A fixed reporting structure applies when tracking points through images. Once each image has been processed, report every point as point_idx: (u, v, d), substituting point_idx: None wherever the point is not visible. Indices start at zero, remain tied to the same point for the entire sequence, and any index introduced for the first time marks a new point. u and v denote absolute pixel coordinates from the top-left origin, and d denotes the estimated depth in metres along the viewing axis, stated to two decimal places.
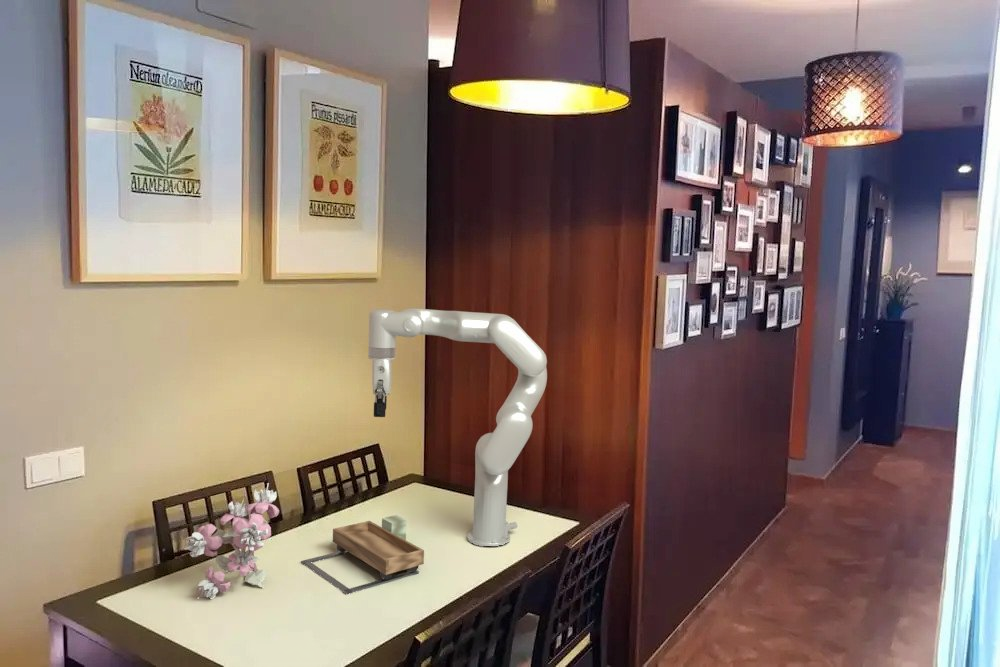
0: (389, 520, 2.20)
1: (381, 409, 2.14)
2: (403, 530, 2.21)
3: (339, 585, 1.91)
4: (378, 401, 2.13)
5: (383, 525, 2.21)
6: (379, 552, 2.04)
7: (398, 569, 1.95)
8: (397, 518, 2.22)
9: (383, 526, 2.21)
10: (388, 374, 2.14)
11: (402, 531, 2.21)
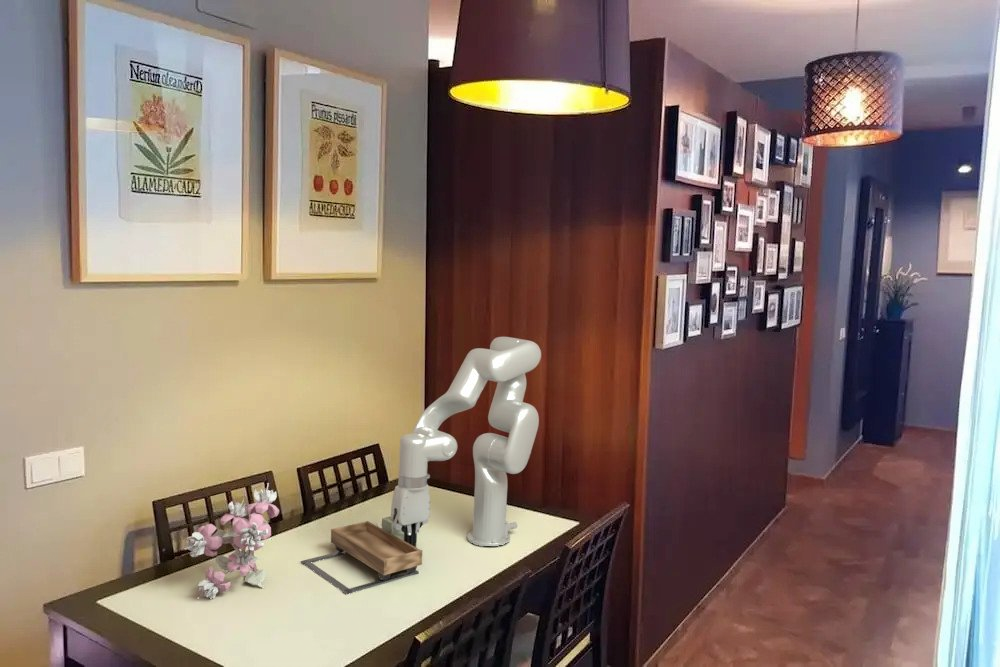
0: (389, 520, 2.20)
1: None
2: None
3: (339, 585, 1.91)
4: None
5: (383, 525, 2.21)
6: (377, 552, 2.03)
7: (397, 570, 1.95)
8: None
9: (383, 526, 2.21)
10: None
11: None
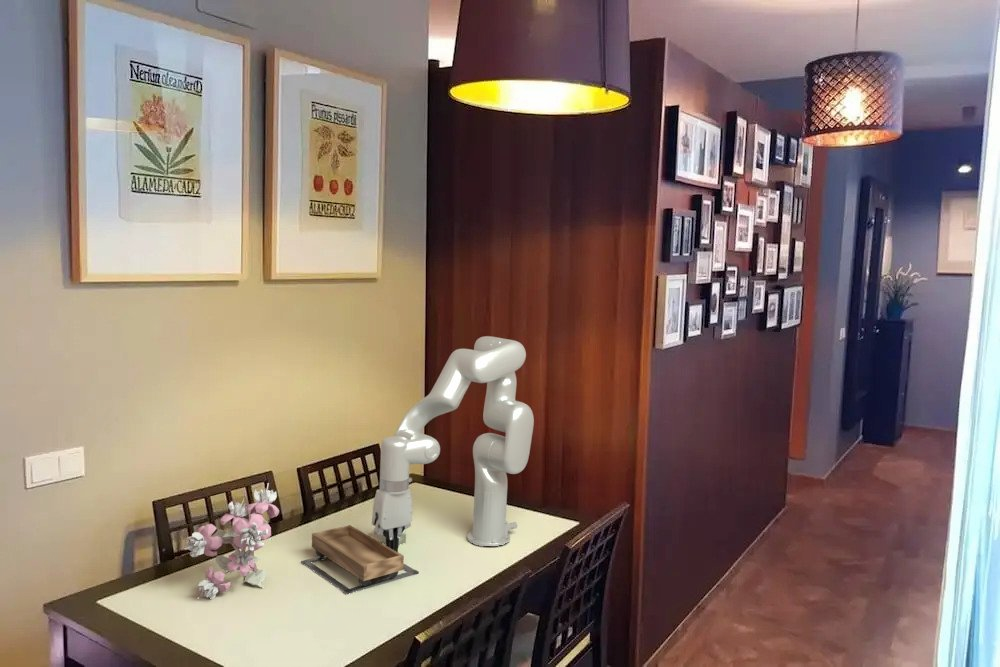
0: None
1: None
2: None
3: (339, 585, 1.91)
4: None
5: None
6: (358, 557, 1.99)
7: (377, 575, 1.91)
8: None
9: None
10: None
11: None
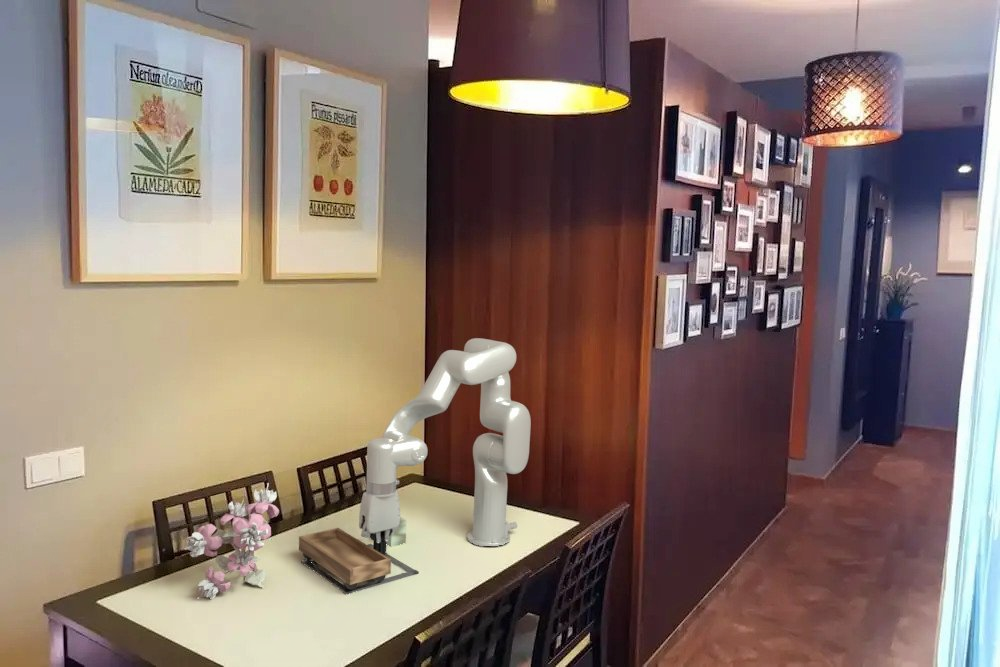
0: None
1: None
2: (403, 530, 2.21)
3: (339, 585, 1.91)
4: None
5: None
6: (345, 561, 1.97)
7: (364, 579, 1.89)
8: None
9: None
10: None
11: (402, 531, 2.21)
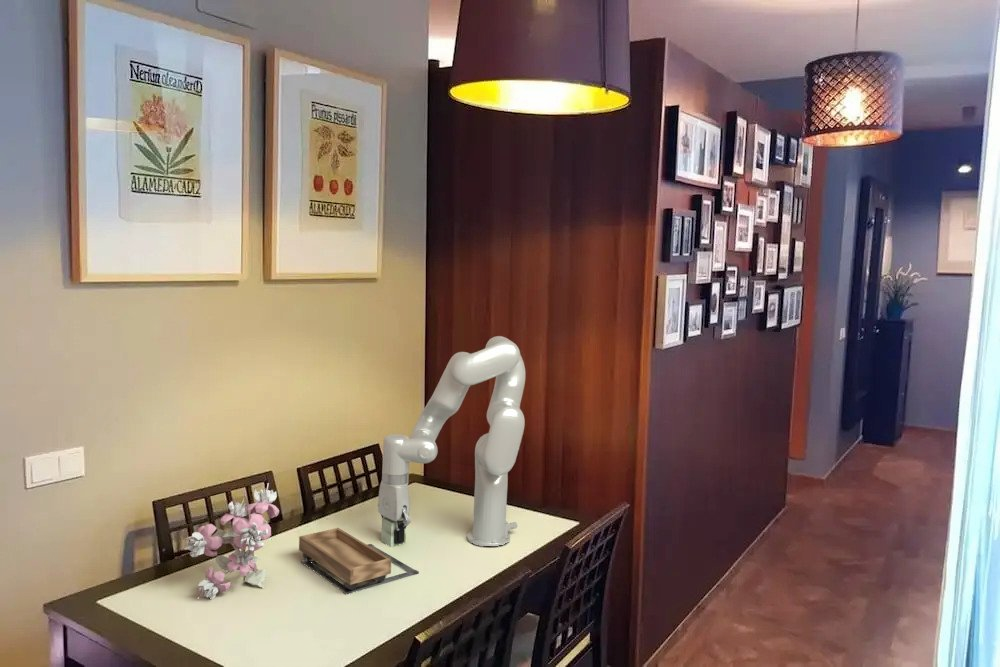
0: (389, 520, 2.20)
1: None
2: None
3: (339, 585, 1.91)
4: None
5: (383, 525, 2.21)
6: (345, 561, 1.97)
7: (364, 579, 1.89)
8: None
9: (383, 526, 2.21)
10: None
11: None
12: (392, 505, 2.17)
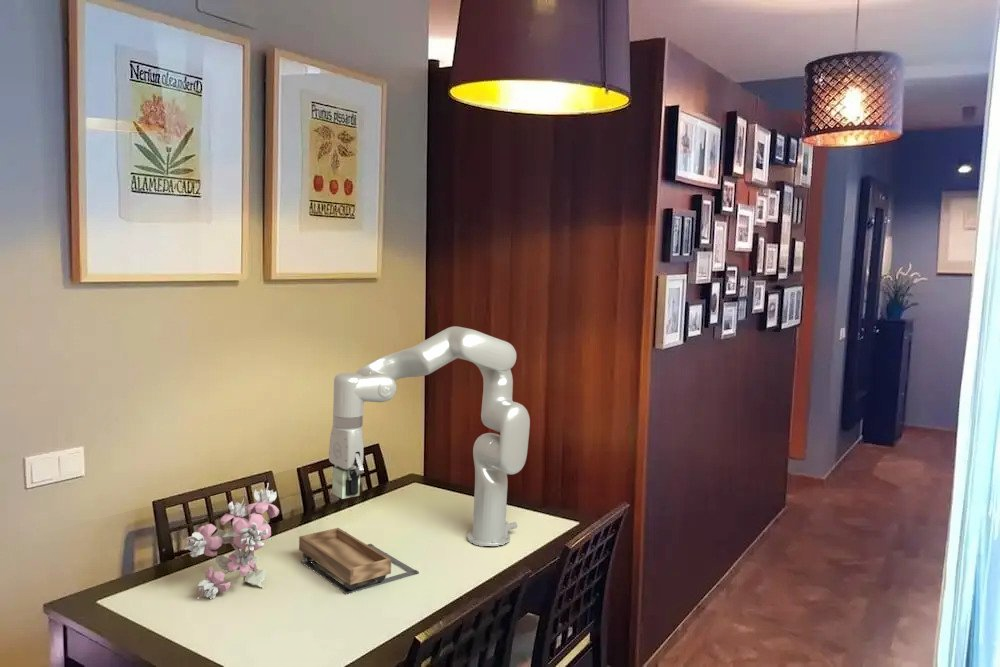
0: (341, 469, 1.96)
1: None
2: None
3: (339, 585, 1.91)
4: None
5: (334, 475, 1.97)
6: (345, 561, 1.97)
7: (364, 579, 1.89)
8: None
9: (334, 476, 1.97)
10: None
11: None
12: (343, 451, 1.93)
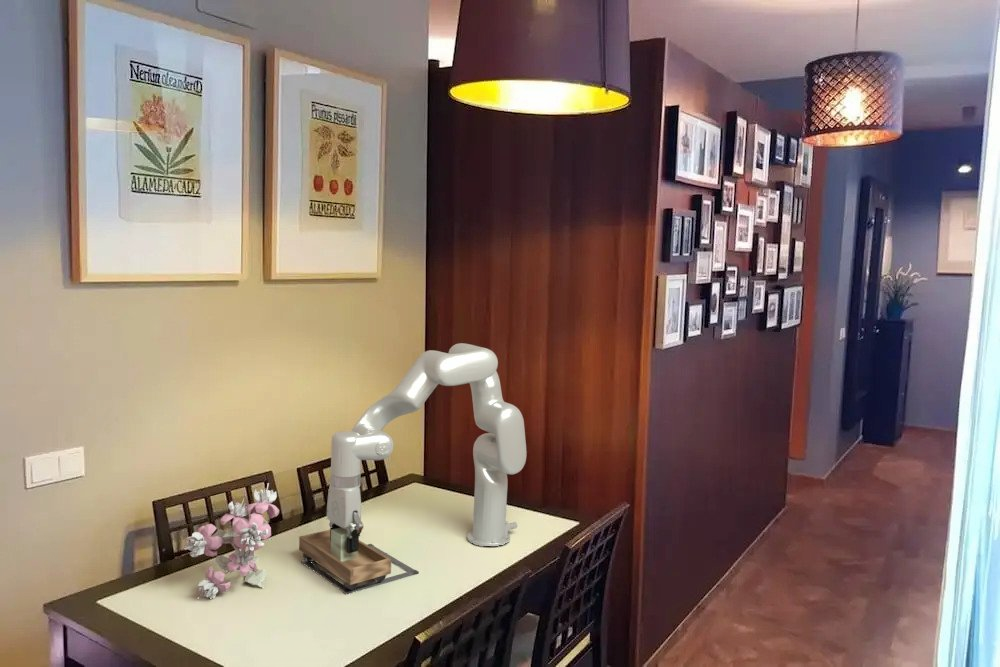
0: (339, 532, 1.98)
1: None
2: None
3: (339, 585, 1.91)
4: None
5: (332, 537, 1.99)
6: (345, 561, 1.97)
7: (364, 579, 1.89)
8: None
9: (332, 539, 1.99)
10: None
11: None
12: (341, 510, 1.94)
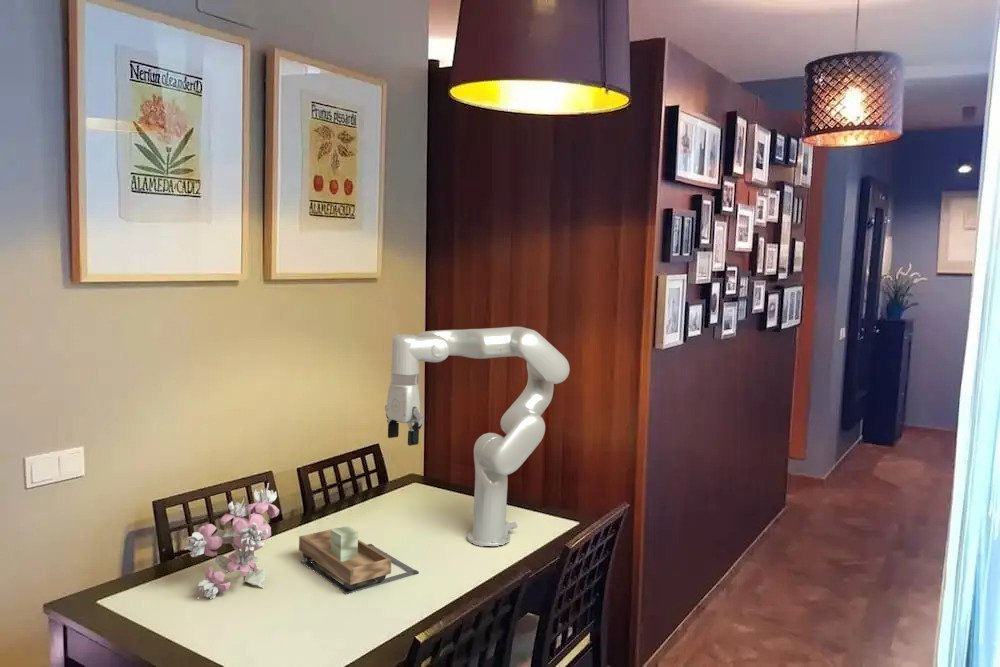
0: (339, 532, 1.98)
1: None
2: (354, 543, 1.99)
3: (339, 585, 1.91)
4: None
5: (332, 537, 1.99)
6: (345, 561, 1.97)
7: (364, 579, 1.89)
8: (348, 529, 2.00)
9: (332, 539, 1.99)
10: None
11: (353, 544, 1.98)
12: (402, 406, 2.08)
